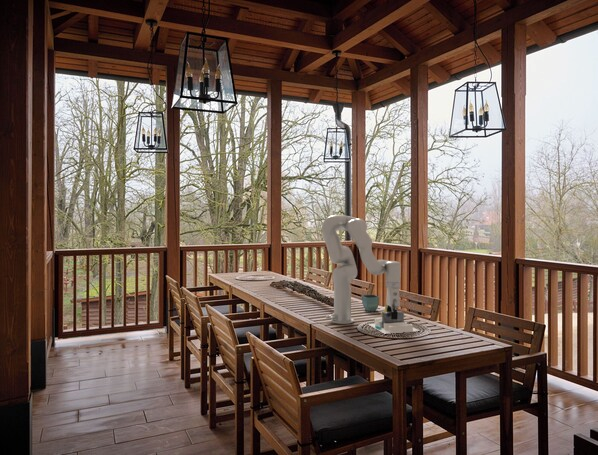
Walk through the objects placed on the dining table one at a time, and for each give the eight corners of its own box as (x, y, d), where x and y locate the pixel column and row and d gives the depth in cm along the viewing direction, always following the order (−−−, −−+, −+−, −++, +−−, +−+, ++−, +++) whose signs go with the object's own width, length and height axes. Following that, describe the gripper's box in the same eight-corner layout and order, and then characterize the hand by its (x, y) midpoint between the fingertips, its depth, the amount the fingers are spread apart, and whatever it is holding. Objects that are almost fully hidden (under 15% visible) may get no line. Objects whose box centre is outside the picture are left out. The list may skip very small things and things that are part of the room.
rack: (384, 335, 235) (384, 327, 235) (367, 325, 254) (367, 318, 254) (419, 332, 240) (419, 324, 240) (400, 322, 259) (401, 316, 259)
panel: (384, 328, 244) (384, 313, 244) (382, 327, 247) (382, 312, 247) (403, 327, 247) (403, 312, 247) (400, 325, 250) (401, 310, 250)
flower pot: (366, 312, 286) (366, 297, 285) (360, 309, 294) (361, 295, 294) (379, 311, 288) (379, 297, 288) (373, 308, 297) (373, 294, 296)
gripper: (404, 287, 238) (403, 321, 239) (395, 282, 255) (395, 313, 256) (389, 287, 237) (388, 321, 238) (382, 281, 255) (381, 312, 256)
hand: (391, 316), depth 247 cm, fingers open, 9 cm apart
